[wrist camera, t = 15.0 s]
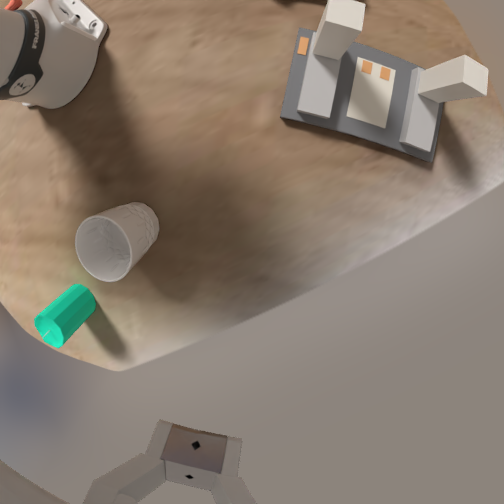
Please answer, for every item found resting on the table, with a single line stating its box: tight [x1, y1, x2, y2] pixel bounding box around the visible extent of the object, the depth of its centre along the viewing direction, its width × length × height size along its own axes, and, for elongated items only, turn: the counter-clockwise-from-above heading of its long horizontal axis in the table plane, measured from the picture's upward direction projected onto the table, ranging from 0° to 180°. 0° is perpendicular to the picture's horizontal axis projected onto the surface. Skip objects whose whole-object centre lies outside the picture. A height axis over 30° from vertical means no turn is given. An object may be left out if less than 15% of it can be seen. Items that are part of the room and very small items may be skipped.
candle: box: [34, 284, 96, 348], centre depth 40 cm, size 6×6×12 cm
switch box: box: [280, 28, 444, 163], centre depth 30 cm, size 12×20×4 cm, turn 79°
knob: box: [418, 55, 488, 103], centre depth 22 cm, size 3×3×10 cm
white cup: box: [75, 202, 160, 282], centre depth 35 cm, size 8×8×10 cm
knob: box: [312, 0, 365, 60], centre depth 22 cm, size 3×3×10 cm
